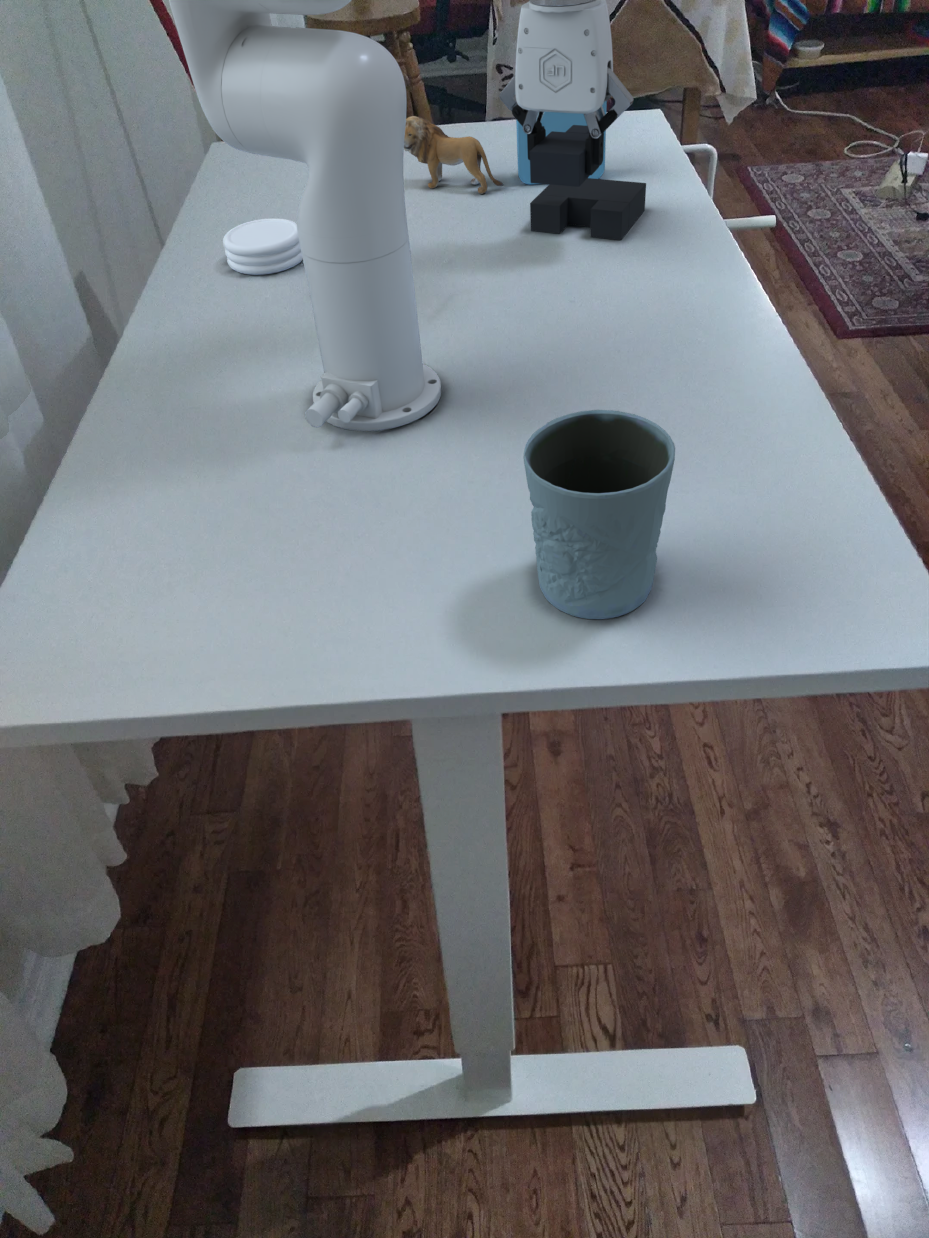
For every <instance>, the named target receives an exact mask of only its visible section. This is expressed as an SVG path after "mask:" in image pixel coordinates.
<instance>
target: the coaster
mask: <svg viewBox="0 0 929 1238" xmlns="http://www.w3.org/2000/svg"><path fill="white" fill-rule="evenodd" d="M222 245H223V248H224V254H225V256H226V257H227V258H226V262H227V265H228V266H229V267H230V269H232V270H233V271H235V272H236V273H237V272H238V273H240V274H245V275H253V276H262V275H263V276H265V275H271V274H276V273H281V272H283V271H286V270H289V269H291V268H294V267H296V266H298V265H299V264H300V263H301V262H303V257H302V252H301V248H300V242H299V237H298V230H297V221H294V220H292V219H286V218H275V217H274V218H271V217H270V218H261V219H260V218H259V219H255V220H250V221H247V222H244V223H241V224H238V225H236V226H234V227H233V228H231V229H230V230H228V231H227V232H226V233H225V235H224V236H223V238H222Z"/></svg>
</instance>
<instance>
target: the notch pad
mask: <svg viewBox="0 0 929 1238" xmlns="http://www.w3.org/2000/svg"><path fill="white" fill-rule="evenodd" d="M646 193H647V183H646V182H639V181H628V180H616V179H602V178H598V179H592V178H587V179H586V180H585V181H584V182H583V183H582V185H581V186H580V187H575V186H563V185H551V184H547V186H546V187H545V188H543V190H542V191H541V192H540V193H539V194H538V195H536V196H535V198H534V199H533V200H532V201H531V202H530V203H529V205H530V206H529V211H530V212H529V215H530V216H529V217H530V231H531V232H538V233H548V234H556V235H560V234H561V233H562V232H563V231H565V229H567V227H568V226H575V227H584V228H585V227H586V228H590V232H589V233H590V235H589V237H590V238H595V239H606V240H614V241H615V240H616V241H622V240H623V238H624V237H625V236H626V235H627V233H628V232H629V231H630V230H631V229H632V227H633V226H634V225H635V224H636V222H637V221H638V220H639V219H640V217H641V216H642V215H643V213H644V212H645V211H646V196H647V195H646Z"/></svg>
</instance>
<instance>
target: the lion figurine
mask: <svg viewBox="0 0 929 1238" xmlns="http://www.w3.org/2000/svg"><path fill="white" fill-rule="evenodd" d="M404 152H408V153H409V154H410V155H412V156H414V157H415V158H417V161H418V162H419V163H421V164H425V165H427V169H428V171H429V175H430V177H431V181H430V182H428V183H427V187H428V188H429V189H435V188H437V187H438V185H439V182H440V181H442V179H443V165H446V166H452V167H454V166H458V165H461V164H462V163H463V165H464V166H465V168H466V170H467V171H468V173H469V174H470V175H471V176H473V177H474V178H472V179H471V180H470V184H471V185H473V186H474V185H476V186H477V185H479V184H480V186H479V187H478V188H477V193H478V194H480V195H483V194H485V193H486V192H488V183H487V180H486V179H487V178H486V176H485V175H484V173H483V172H482V170H481V165H482V162H483V165H484V168H485V171H486V173H487V175H488V177H489V179H490V181H491V182H492V183H493V184H494V185H495V186H496V187H503V186H504V182H502V181H500V180H499V179H497V178H495V177H494V176H493V173H492V171H491V168H490V165H489V162H488V157H487V154H486V152H485V150H484V147H483V145H482V144H481V142H480V141H479V140H478V139H477V138H475V137H473V136H463V137H453V136H448V134H446V133H445V132H444V130H443V129H442V128H441V127H440V126H438V125H436V124H434V123H431V122H430V121H429V119H426V118H423V117H421V116H417V115H412V116H411V115H410V116H408V117H406V125H405V138H404Z"/></svg>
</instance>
